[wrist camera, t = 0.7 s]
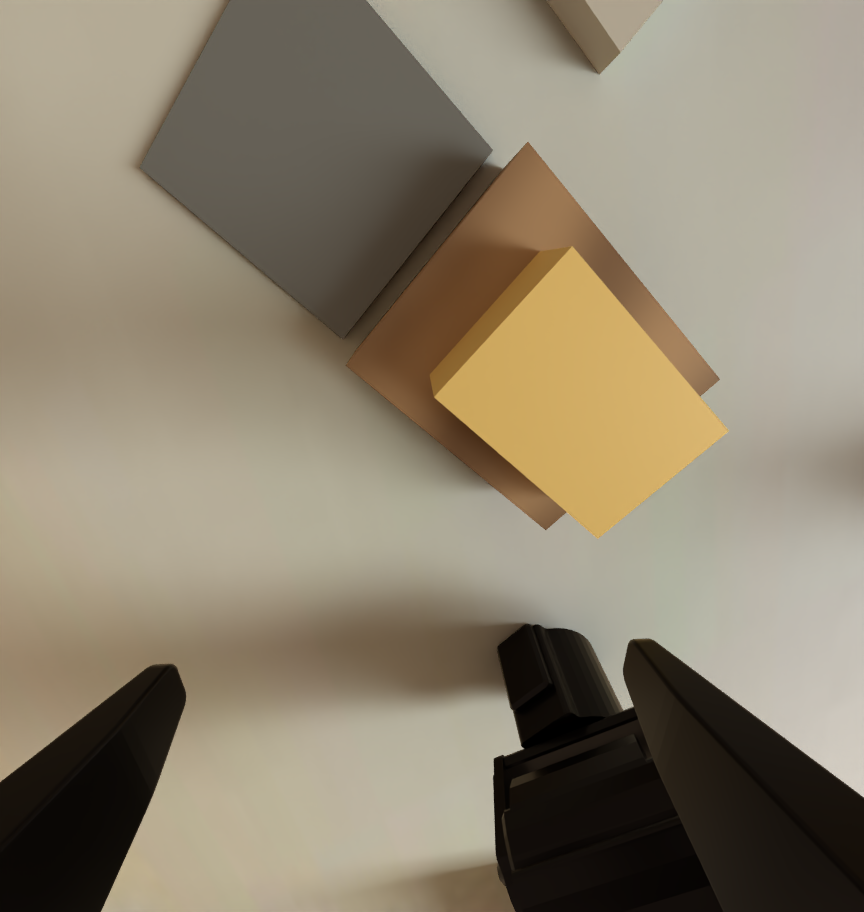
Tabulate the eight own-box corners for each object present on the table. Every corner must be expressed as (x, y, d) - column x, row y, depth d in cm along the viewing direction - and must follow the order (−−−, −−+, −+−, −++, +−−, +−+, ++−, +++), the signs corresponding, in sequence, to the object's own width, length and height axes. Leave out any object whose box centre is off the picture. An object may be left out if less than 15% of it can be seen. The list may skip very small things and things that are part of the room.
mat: (491, 152, 15) (492, 150, 15) (343, 337, 18) (342, 339, 18) (286, -87, 13) (283, -98, 12) (145, 170, 15) (139, 167, 15)
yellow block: (674, 403, 16) (729, 431, 13) (568, 497, 18) (597, 538, 15) (539, 251, 14) (572, 245, 11) (429, 374, 15) (433, 397, 12)
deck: (668, 361, 19) (720, 379, 16) (525, 491, 22) (545, 530, 18) (503, 168, 16) (527, 141, 12) (357, 348, 18) (345, 365, 15)
